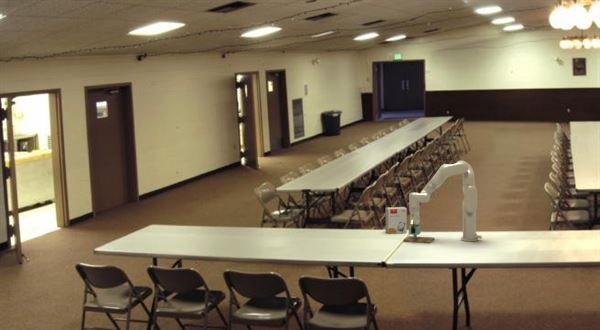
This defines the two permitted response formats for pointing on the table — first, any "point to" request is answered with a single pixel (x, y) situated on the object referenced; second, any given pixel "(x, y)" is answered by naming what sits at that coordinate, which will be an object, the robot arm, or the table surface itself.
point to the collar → (417, 230)
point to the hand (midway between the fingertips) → (414, 232)
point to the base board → (418, 239)
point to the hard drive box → (396, 220)
